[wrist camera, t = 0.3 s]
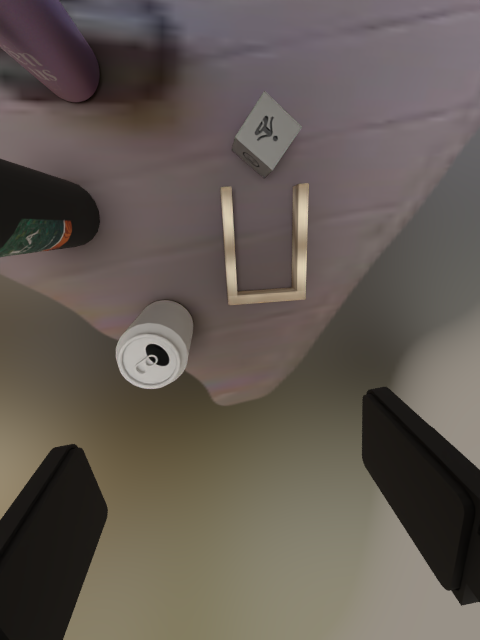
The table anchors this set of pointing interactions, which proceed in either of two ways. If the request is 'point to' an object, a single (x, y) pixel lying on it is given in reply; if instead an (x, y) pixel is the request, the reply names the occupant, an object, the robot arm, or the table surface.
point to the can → (156, 345)
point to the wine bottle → (42, 212)
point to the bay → (297, 252)
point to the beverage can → (49, 47)
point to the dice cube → (265, 135)
